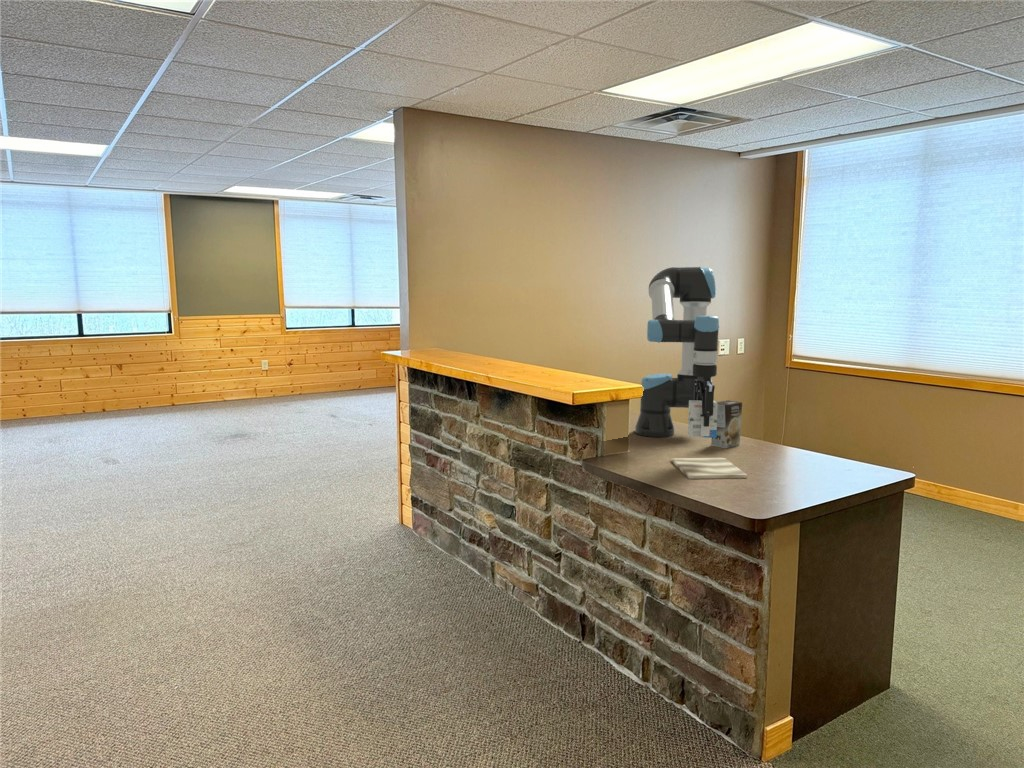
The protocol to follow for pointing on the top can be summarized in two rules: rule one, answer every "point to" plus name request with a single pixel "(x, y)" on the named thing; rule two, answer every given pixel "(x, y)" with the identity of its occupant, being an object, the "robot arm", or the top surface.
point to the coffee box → (728, 424)
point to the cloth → (708, 468)
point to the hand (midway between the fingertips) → (701, 433)
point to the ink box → (695, 419)
